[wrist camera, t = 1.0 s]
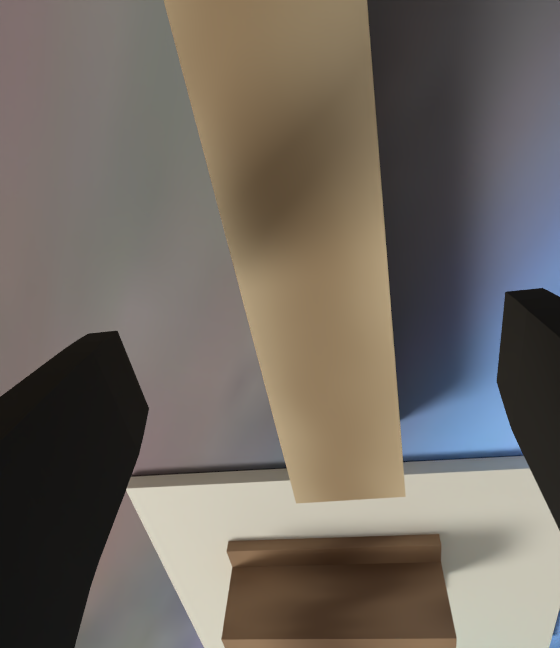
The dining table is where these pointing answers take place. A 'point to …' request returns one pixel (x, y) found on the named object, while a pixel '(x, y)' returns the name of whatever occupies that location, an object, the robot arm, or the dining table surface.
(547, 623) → the board
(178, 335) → the dining table surface
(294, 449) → the bar
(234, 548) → the block
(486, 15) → the dining table surface
